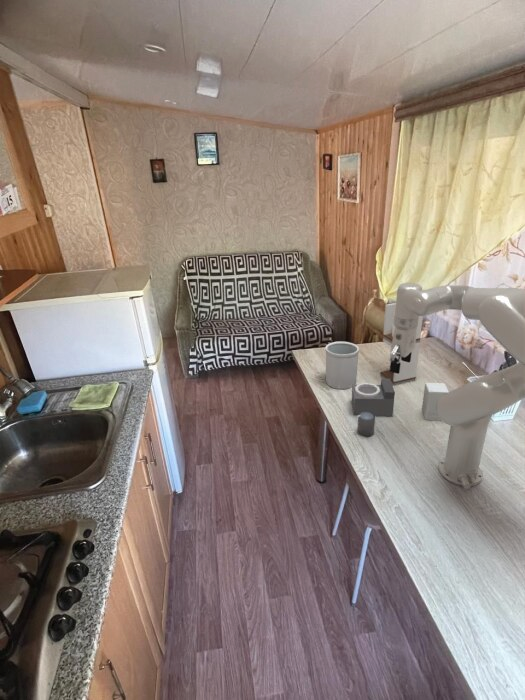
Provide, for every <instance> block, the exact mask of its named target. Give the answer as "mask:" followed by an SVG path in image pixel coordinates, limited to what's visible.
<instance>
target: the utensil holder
mask: <svg viewBox="0 0 525 700" xmlns="http://www.w3.org/2000/svg"><path fill="white" fill-rule="evenodd" d="M324 350H325V382H326V384H327V385H328V386H329V387H330V388H333V389H337V390H346V389H352V385H357V384H356V383H357V377H358V376H357V375H358V365H359V364H358V361H359V352H360V347H359V346H358V345H357V344H355V343H353V342H349V341H334V342H329V343H327V344H326V345H325V347H324Z"/></svg>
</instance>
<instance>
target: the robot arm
mask: <svg viewBox="0 0 525 700" xmlns="http://www.w3.org/2000/svg"><path fill="white" fill-rule="evenodd" d="M396 290H397V291H396V299H395V303H396V307H395V315H394V326H395V330H394V335H393V341H392V349H391V348H390V351H391V360H390V359H389V362H390V367H389V370H390V372H393V373H397V374H399V372H400V364H401V363H400V360H402V361H405V362H410V361H411V354H412V351H413V350H414V348H415V344H416V332H417V326H418V319H419V316H423V317H425V316H430V315H432V314H436V313H439V312H442V311H445V310H446V311H447V310H456V311H457V310H458V311H461V313H462V315H463V316H464V317H465V318H466V319H468V320H473V321H479V322H480V324H481V325H482V326H483V328H485V330H486V331H487V332H488V333H489V334H490V335H491V336H492V337H493V338H494V339H495V340H496V341H497V343H499V344H500V345H501V347H503V348H504V349H505V351H507V352H508V354H510V356H512V357H513V358H514V359H515V360H516V361H517V363H514V364H513V365H511V366H508V367H506V368H504V369H501V370H497V371H494V372H491V373H489V374H485V375H483V376H481V377H478V378H476V379H475V380H472V381H470V382H467V383H466V384H464V385H461V386H459V387H457V388H455V389H453V390H450V391H449V392H448V393H446V394H444V395H442V396H441V397H440V398H439V400H438V401H437V404H436V411H437V414H438V416H439V418H440V419H441V420H442V422H443V423H445V425H449V426H450V429H449V434H448V439H447V445H446V451H445V457H444V458H442V459H441V460H440V461H439V462H438V471H439V473H440V475H441V476H442V477H443V478H444V479H445V480H447V481H448V482H449V483H450V482H451V483H452V484H455V485H458V486H462V487H463V488H464V489H465V490H469V489H470V488H471V487H473V486H477V485H479V484H480V483H481V482H482V481H483V479H484V473H483V472H484V471H483V470H482V469H481V467H480V463H481V459H482V454H483V451H484V444H485V441H486V436H487V431H488V428H489V424H490V421H491V419H492V417H493V415H495V414H498V413H499V412H502V411H504V410H506V409H509V407H512V406H513V405H514V404H516V403H517V402H520V401H521V400H524V399H525V289H524V288H519V287H518V288H516V287H515V288H514V287H513V288H512V287H511V288H510V287H508V288H507V287H504V288H503V287H497V288H495V287H492V288H491V287H490V288H489V287H472V286H470V285H455V284H454V285H453V284H451V285H439V286H435V287H431V288H427V289H423V286H422V285H420V283H415V282H405V283H404V282H403V283H400V284H399V285H398V286H397V289H396ZM397 352H398V353H400V354H397ZM396 356H399V358H398V359H397V358H396Z"/></svg>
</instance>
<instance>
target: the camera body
mask: <svg viewBox="0 0 525 700" xmlns="http://www.w3.org/2000/svg"><path fill="white" fill-rule="evenodd" d="M395 393H396V391H395V388H394V386H393V385H392V383H391V380H390V379H389V378H383V377H382V378H381V379H380V384H374V383H370V382H362V383H359V384H355V385H352V387H351V405H352V406H351V407H352V412H353V416H354V417H358V415H359V413H361V412H370V413H372V414H374V415H375V417H394V416H393V415H394V408H395V407H394V406H395Z"/></svg>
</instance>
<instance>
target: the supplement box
mask: <svg viewBox="0 0 525 700" xmlns="http://www.w3.org/2000/svg"><path fill="white" fill-rule="evenodd" d="M423 391H424V392H423V397H422V398H423V399H422V406H421V411H422V415H423V417H424V420H427V421H428V420H429V421H438V422H439V421H442V420H441V419H440V418H439V416H438V414H437V411H436V404H437V401H438V400H439V398H440V397H441V396H442V395H444V394H446V393H448V392H450V391H449V389H448V387H447V385H446V383H443V382H425V383H424V390H423ZM442 422H443V421H442Z"/></svg>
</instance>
